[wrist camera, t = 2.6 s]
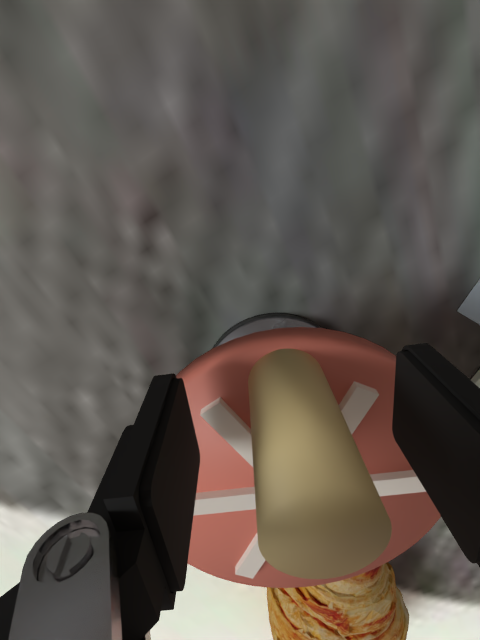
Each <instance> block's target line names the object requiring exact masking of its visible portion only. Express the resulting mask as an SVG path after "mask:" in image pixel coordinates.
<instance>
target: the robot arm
mask: <svg viewBox="0 0 480 640" xmlns="http://www.w3.org/2000/svg"><path fill="white" fill-rule="evenodd" d="M392 432H393V436H394V439H395V441H396V443H397V444H398V446H399V448H400V449H401V451H402V453H403V454H404V456H405V458H406V459H407V461H408V462H409V464H410V466H411V467H412V469H413V471H414V472H415V474H416V476H417V477H418V479H419V481H420V482H421V484H422V485H423V487H424V489H425V490H426V492H427V494H428V495H429V497H430V499H431V500H432V502H433V504H434V505H435V507H436V508H437V510H438V512H439V513H440V515H441V517H442V518H443V520H444V522H445V523H446V525H447V527H448V528H449V530H450V531H451V533H452V535H453V536H454V538H455V540H456V541H457V543H458V545H459V546H460V548H461V550H462V551H463V553H464V554H465V556H466V557H467V559H468V560H469V561H470V562H472V563H477V564H478V565H479V567H480V388H479V387H478V386H477V385H476V384H474V383H473V382H472V381H471V380H470V379H469V378H467V377H466V376H465V375H464V374H463V373H462V372H460V371H459V370H458V369H457V368H456V367H455V366H453V365H452V364H451V363H450V362H449V361H448V360H446V359H445V358H444V357H443V356H442V355H441V354H440V353H438V352H437V351H436V350H435V349H434V348H433V347H431V346H430V345H429V344H427V343H424V344H416V345H408V346H404V347H403V349H402V351H401V352H398V353H397V355H396V369H395V386H394V403H393V420H392ZM199 467H200V450H199V446H198V441H197V437H196V433H195V428H194V424H193V420H192V416H191V411H190V407H189V403H188V398H187V394H186V390H185V385H184V381H183V379H182V378H176V376H175V374H167V375H158V376H154V377H153V379H152V382H151V384H150V387H149V389H148V391H147V394H146V396H145V399H144V401H143V404H142V406H141V408H140V411H139V413H138V416H137V418H136V421H135V423H134V425H129V426H127V427H126V428H125V430H124V431H123V433H122V436H121V438H120V440H119V442H118V445H117V447H116V449H115V451H114V454H113V456H112V458H111V460H110V463H109V465H108V467H107V469H106V472H105V474H104V476H103V478H102V481H101V483H100V485H99V487H98V490H97V492H96V494H95V497H94V499H93V501H92V503H91V506H90V508H89V510H88V512H87V513H79V514H76V515H72V516H69V517H67V518H65V519H64V520H62V521H60V522H58V523H57V524H55V525H54V526H53V527H51V528H50V529H49V530H47V531H46V532H45V533H44V534H43V535H42V536H41V537H40V539H39V540H38V541H37V542H36V543H35V544H34V546H33V548H32V549H31V551H30V552H29V554H28V555H27V558H26V561H25V564H24V567H23V570H22V575H21V580H20V582H19V583H18V584H17V585H16V586H14V587H13V588H12V589H10V590H9V591H8V592H6V593H5V594H4V595H3V596H1V597H0V640H151V637H150V629H151V628H152V627H153V626H154V625H155V624H156V623H157V622H158V621H159V617H160V611H162V610H173V609H174V603H175V596H176V591H183V589H184V585H185V579H186V571H187V563H188V555H189V547H190V539H191V531H192V523H193V515H194V507H195V499H196V491H197V483H198V475H199Z"/></svg>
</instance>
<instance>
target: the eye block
mask: <svg viewBox="0 0 480 640" xmlns="http://www.w3.org/2000/svg"><path fill="white" fill-rule="evenodd" d="M457 312H459V313H461V314H462V315H464V316H466V317H467V318H469V319H471V320H472V321H474V322H476V323H477V324H479V325H480V279H479V281H478V282H477V283H476V285H475V286H474V288H473V289H472V290H471V292H470V293H469V295H468V296H467V298H466V299H465V300H464V302H463V303H462V305H461V306H460V307H459V309H458V310H457Z"/></svg>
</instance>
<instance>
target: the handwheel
mask: <svg viewBox="0 0 480 640" xmlns="http://www.w3.org/2000/svg"><path fill="white" fill-rule="evenodd" d="M395 369H396V356H395V355H394V354H392V353H391V352H389V351H388V350H386V349H385V348H383V347H381V346H379V345H377V344H375V343H373V342H371V341H369V340H367V339H364V338H361V337H358V336H355V335H352V334H349V333H346V332H341V331H335V330H330V329H324V328H311V327H291V328H276V329H271V330H266V331H260V332H255V333H252V334H248V335H245V336H242V337H239V338H235V339H233V340H230V341H228V342H226V343H224V344H221V345H219V346H217V347H215V348H213V349H211V350H210V351H208V352H206V353H205V354H203V355H201V356H200V357H198V358H196V359H195V360H194V361H193V362H191V363H190V364H189V365H188V366H186V367H185V368H184V369H183V370H181V371H180V372H179V373H178V374H177V375H176V378H182V379H183V381H184V385H185V390H186V394H187V398H188V403H189V407H190V411H191V416H192V420H193V424H194V428H195V433H196V437H197V441H198V446H199V450H200V467H199V475H198V483H197V491H196V499H195V507H194V515H193V523H192V531H191V539H190V547H189V555H188V564H190V565H192V566H194V567H196V568H197V569H199V570H201V571H203V572H206V573H208V574H211V575H213V576H216V577H219V578H222V579H225V580H229V581H232V582H236V583H241V584H246V585H252V586H261V587H271V588H295V587H308V586H316V585H323V584H327V583H332V582H337V581H341V580H344V579H348V578H351V577H354V576H357V575H360V574H362V573H365V572H368V571H370V570H373V569H375V568H377V567H379V566H381V565H383V564H385V563H387V562H389V561H390V560H392V559H394V558H395V557H397V556H398V555H400V554H402V553H403V552H405V551H406V550H407V549H409V548H410V547H411V546H413V545H414V544H415V543H416V542H418V541H419V540H420V539H421V538H422V537H423V536H424V535H425V534H426V533H427V532H428V531H429V530H430V529H431V528H432V527H433V525H434V524H435V523H436V522H437V521H438V519H439V518H440V517H441V515H440V513H439V512H438V510H437V508H436V507H435V505H434V504H433V502H432V500H431V499H430V497H429V495H428V494H427V492H426V490H425V489H424V487H423V485H422V484H421V482H420V481H419V479H418V477H417V476H416V474H415V472H414V471H413V469H412V467H411V466H410V464H409V462H408V461H407V459H406V458H405V456H404V454H403V453H402V451H401V449H400V448H399V446H398V444H397V443H396V441H395V439H394V436H393V432H392V420H393V403H394V386H395Z"/></svg>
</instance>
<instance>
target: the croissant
mask: <svg viewBox="0 0 480 640" xmlns="http://www.w3.org/2000/svg"><path fill="white" fill-rule="evenodd" d="M267 600H268V611H269V621H270V626H271V631H272V635H273V639H274V640H406V636H407V631H408V624H409V613H408V610H407V608H406V606H405V604H404V601H403V597H402V594H401V592H400V590H399V589H398V588H397V587H396V584H395V575H394V571H393V568H392V566H391V565H390V564H389V563H388V562H387V563H385V564H383V565H381V566H379V567H377V568H375V569H373V570H370V571H368V572H365V573H362V574H360V575H357V576H354V577H351V578H348V579H344V580H341V581H337V582H332V583H327V584H323V585H316V586H308V587H295V588H271V587H267Z"/></svg>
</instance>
